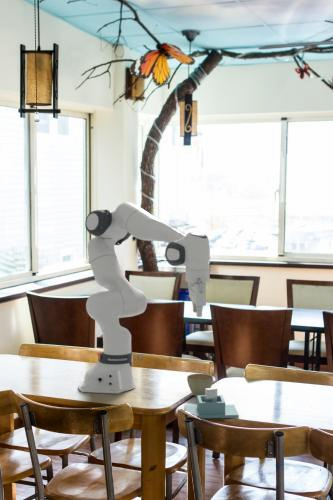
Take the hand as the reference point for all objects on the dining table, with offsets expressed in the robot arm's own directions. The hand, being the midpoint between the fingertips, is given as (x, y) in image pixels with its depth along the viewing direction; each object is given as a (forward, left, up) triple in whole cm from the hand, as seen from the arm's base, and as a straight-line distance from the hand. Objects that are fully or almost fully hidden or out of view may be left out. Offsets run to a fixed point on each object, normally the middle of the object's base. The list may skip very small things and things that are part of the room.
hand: (197, 314), depth 260 cm
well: (+4, -12, -33) cm, 35 cm away
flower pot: (+2, +10, -33) cm, 35 cm away
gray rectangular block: (+4, -12, -32) cm, 34 cm away
